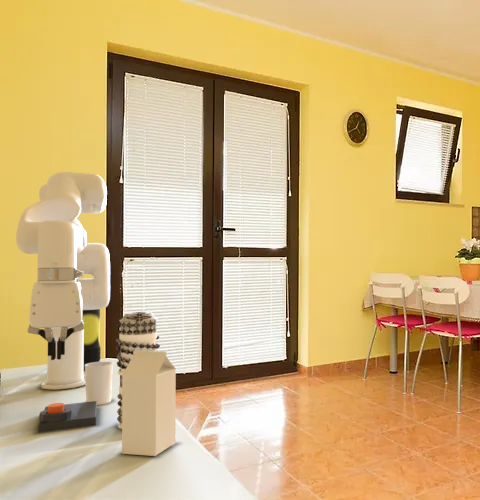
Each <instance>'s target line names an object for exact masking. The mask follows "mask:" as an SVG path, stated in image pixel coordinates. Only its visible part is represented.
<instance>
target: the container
mask: <svg viewBox="0 0 480 500" xmlns="http://www.w3.org/2000/svg"><path fill="white" fill-rule="evenodd" d="M82 321H83V325H84V371H83V372H85V364H88V363H93V362H101V357H102V356H101V353H102V352H101V350H102V349H101V347H102V346H101V309H95V310H83V318H82Z"/></svg>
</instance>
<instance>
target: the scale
mask: <svg viewBox="0 0 480 500" xmlns="http://www.w3.org/2000/svg"><path fill="white" fill-rule="evenodd" d="M96 403H97V401H92V402H86V401H84V402H83V401H82V402H75V403H67V404H65V403H64V412H60V413H54V414H48V405H47V406H45V407H44V410H41V411H40V412H39V423H38V433H46V432H53V431H54V432H55V431H62V430H70V429H77V428H78V429H79V428H86V427H92V426H96V425H97V405H96Z"/></svg>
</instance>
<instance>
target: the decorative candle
mask: <svg viewBox="0 0 480 500" xmlns="http://www.w3.org/2000/svg"><path fill="white" fill-rule="evenodd" d="M158 319H159V318H157V317H155V314H153V312H150V311H131V312H126V313H125V314H124V315H123V317H121V319H119V327H120V328H119V331H120V332H119V333H118V336H119V337H117V338H116V339H115V342H116V344H117V345H116V346H115V349H116V351H118V354H117V355H116V359H117V360H118V361H117V362H116V366H117V367H118V368H119V369H118V371H117V374H118V375H119V386H118V394H117V396H116V397H117V399H118V402H116V404H117V406H118V407H119V408H118V409H117V411H116V413H117V415H118V416H117V418H116V420H117V422H118V423H117V428H118V429H120V430H122V374H123V373H124V371H125V369H126V367H127V366H128V364H129V362H130V361H131V359H132V357H133V351H157V350H158V349H159V348H161V345H160V344H159V343H157V340H159V339H160V336H159V335H158V331H157V320H158Z"/></svg>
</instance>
